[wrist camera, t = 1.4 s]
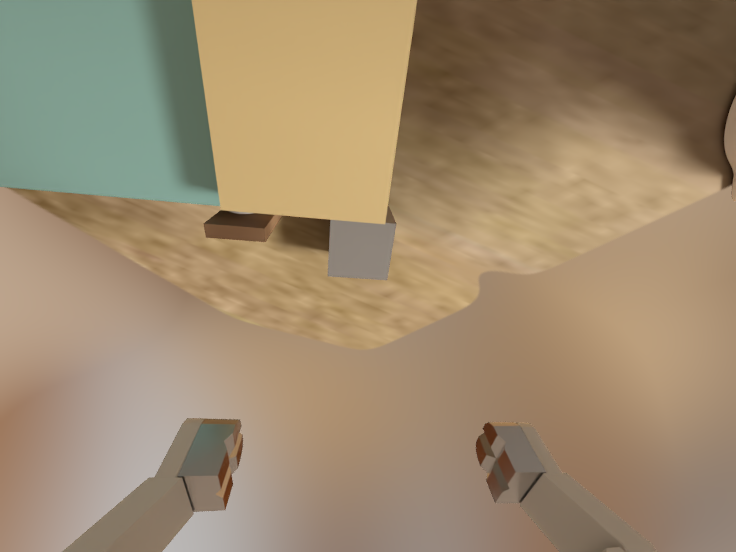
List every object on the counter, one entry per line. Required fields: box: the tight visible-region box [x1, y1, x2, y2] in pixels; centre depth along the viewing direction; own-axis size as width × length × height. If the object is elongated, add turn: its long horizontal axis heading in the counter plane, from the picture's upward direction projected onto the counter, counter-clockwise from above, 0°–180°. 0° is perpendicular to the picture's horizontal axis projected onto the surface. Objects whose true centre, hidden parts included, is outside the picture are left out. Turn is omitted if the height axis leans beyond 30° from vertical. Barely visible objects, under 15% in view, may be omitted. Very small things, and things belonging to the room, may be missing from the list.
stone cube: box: [328, 206, 396, 280], centre depth 25 cm, size 5×5×5 cm
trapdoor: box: [0, 0, 417, 224], centre depth 10 cm, size 18×10×5 cm, turn 84°
